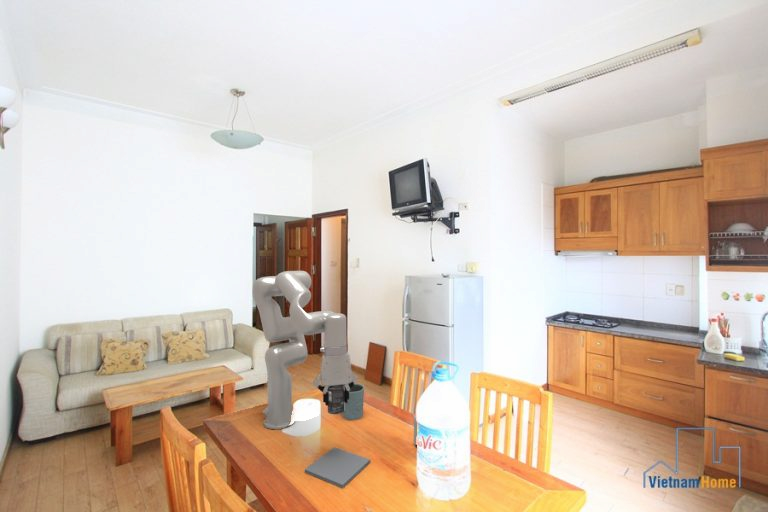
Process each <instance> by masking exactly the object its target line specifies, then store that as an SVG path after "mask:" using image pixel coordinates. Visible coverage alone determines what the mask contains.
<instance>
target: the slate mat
mask: <svg viewBox="0 0 768 512" xmlns="http://www.w3.org/2000/svg"><path fill="white" fill-rule="evenodd" d="M369 464H371V459H370V458H367V457H364V456H361V455H359V454H355V453H353V452H350V451H347V450H344V449H341V448H339V447H336V446H334V447H332V448H331V449H329V450H328V451H327V452H325V453H324V454H322V455H321V456H320V457H319V458H318V459H316V460H315V461H313V462H312V463H311V464H310V465H308V466H307V467H305V468H304V473H305V474H307V475H309V476H312V477H314V478H317V479H319V480H322V481H324V482H327V483H330V484H332V485H334V486H337V487H339V488H342V489H344V488H345V487H346V486H347V485H348V484H349V483H350V482H351V481H352V480H353V479H354V478H355V477H356V476H358V475H359V474H360V472H362V471H363V470H365V468H366V467H367V466H368V465H369Z"/></svg>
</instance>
